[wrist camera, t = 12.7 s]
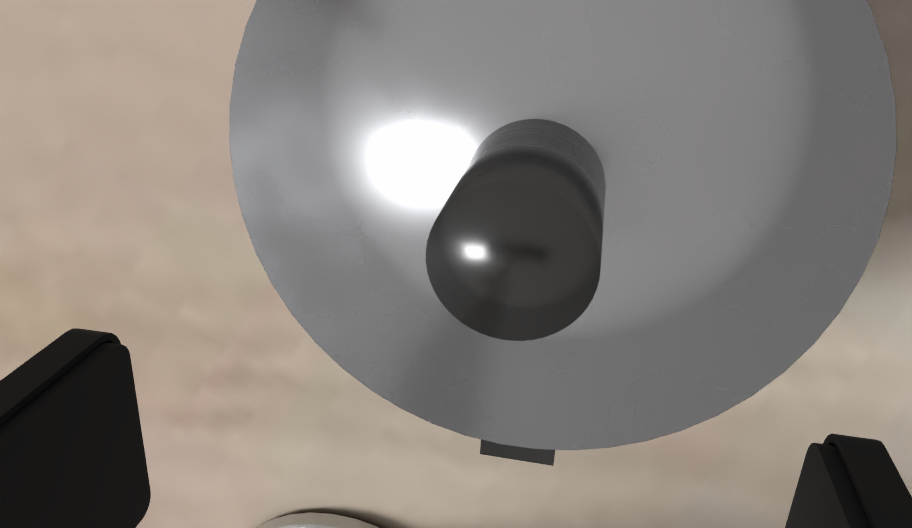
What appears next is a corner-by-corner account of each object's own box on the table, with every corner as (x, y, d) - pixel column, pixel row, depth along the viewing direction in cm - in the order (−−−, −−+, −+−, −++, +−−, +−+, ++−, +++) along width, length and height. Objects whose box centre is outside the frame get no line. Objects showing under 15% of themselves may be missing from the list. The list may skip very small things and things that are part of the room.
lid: (827, 455, 21) (884, 613, 17) (288, 411, 24) (208, 533, 20) (958, -218, 15) (1118, -273, 10) (190, -160, 18) (33, -181, 13)
